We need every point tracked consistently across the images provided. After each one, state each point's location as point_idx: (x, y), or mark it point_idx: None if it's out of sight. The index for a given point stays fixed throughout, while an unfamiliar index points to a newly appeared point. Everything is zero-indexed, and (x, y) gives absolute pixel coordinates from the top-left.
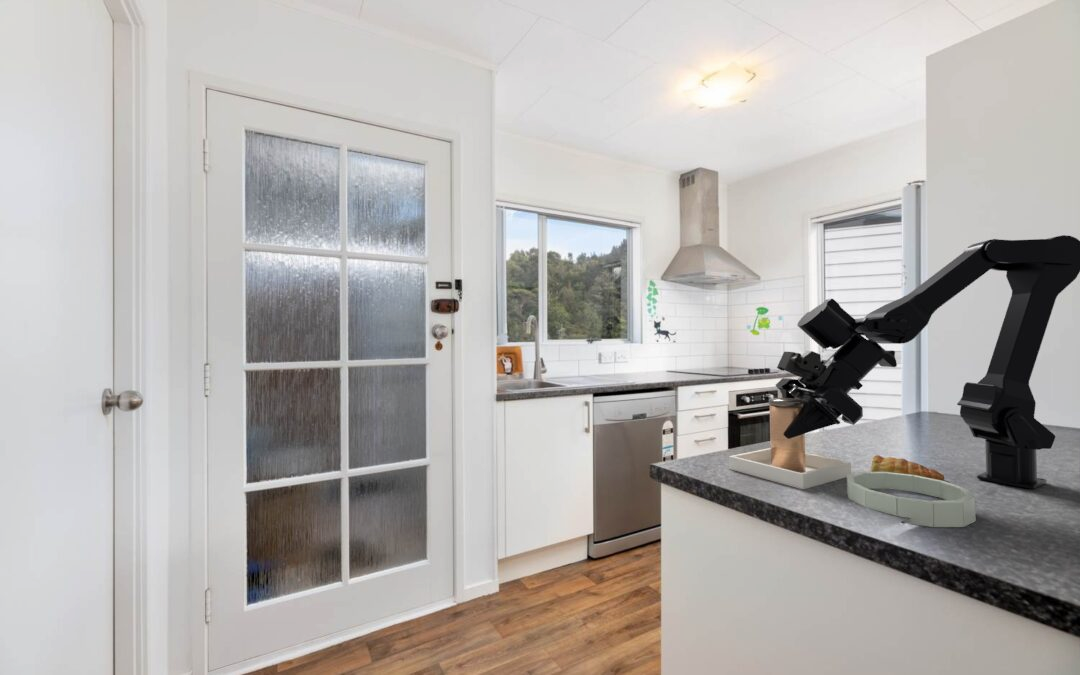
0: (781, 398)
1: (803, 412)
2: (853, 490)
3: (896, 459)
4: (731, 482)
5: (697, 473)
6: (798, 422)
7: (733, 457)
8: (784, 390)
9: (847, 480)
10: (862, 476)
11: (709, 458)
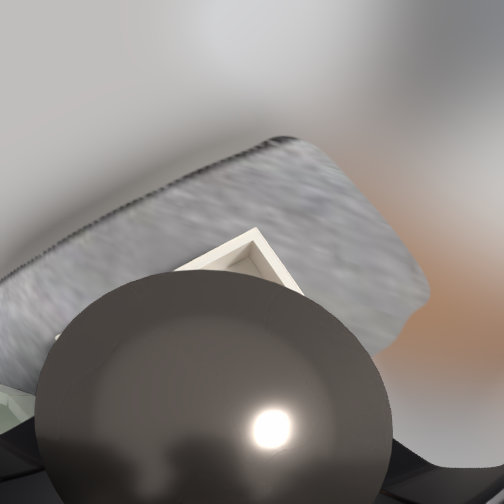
0: (340, 451)
1: (24, 426)
2: (5, 391)
3: None
4: (175, 228)
5: (250, 183)
6: None
7: (242, 234)
8: (480, 498)
9: (21, 409)
10: None
11: (385, 251)
